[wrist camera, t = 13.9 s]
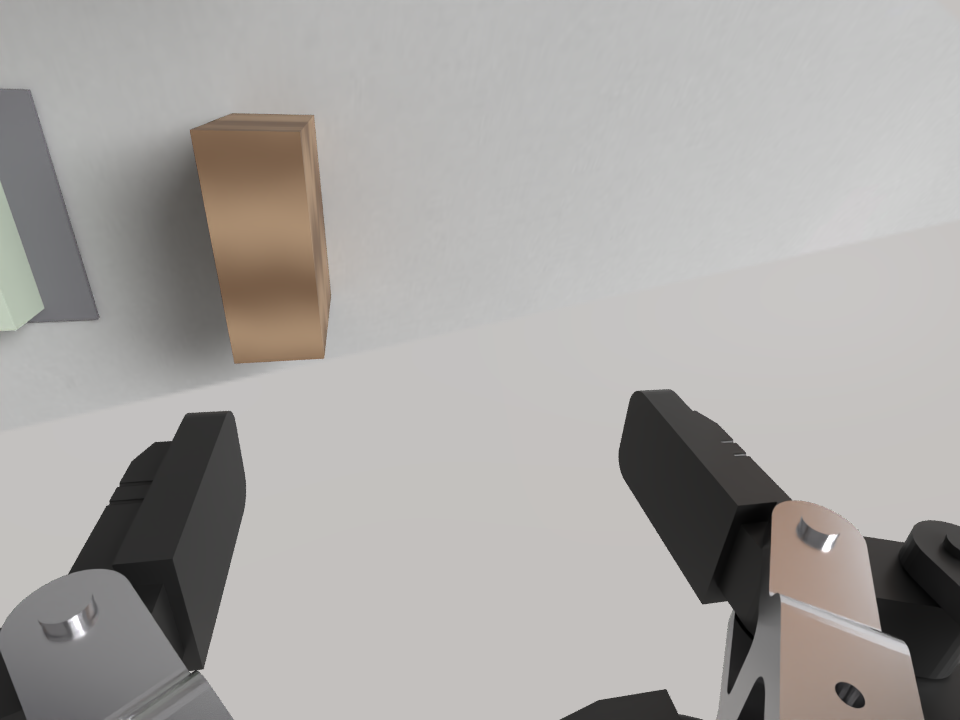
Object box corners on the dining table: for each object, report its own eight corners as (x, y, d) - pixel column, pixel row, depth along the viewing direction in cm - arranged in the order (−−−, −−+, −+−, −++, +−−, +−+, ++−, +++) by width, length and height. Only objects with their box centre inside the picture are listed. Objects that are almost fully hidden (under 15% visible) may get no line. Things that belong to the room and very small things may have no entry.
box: (232, 113, 34) (189, 130, 25) (313, 115, 35) (300, 131, 26) (261, 297, 39) (234, 363, 31) (330, 295, 40) (324, 358, 32)
